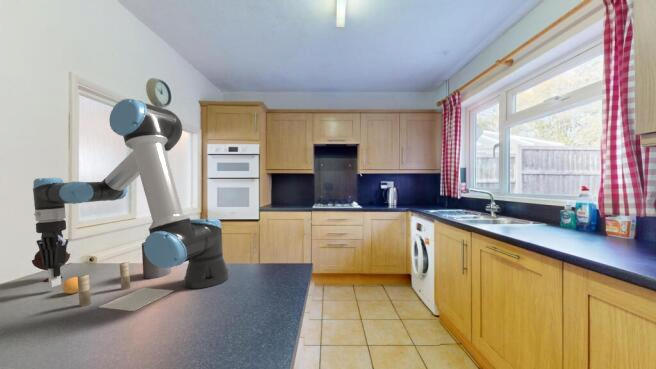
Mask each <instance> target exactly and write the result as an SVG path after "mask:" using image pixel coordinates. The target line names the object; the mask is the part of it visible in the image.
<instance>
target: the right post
mask: <svg viewBox="0 0 656 369" xmlns="http://www.w3.org/2000/svg"><path fill="white" fill-rule="evenodd" d="M119 273H120V288H121V289H122V290H123V291H124V290H128V289H129V290H130V289H131V275H130V263H129V262H127V261H125V262H122V263H120V264H119Z"/></svg>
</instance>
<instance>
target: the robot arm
mask: <svg viewBox="0 0 656 369" xmlns="http://www.w3.org/2000/svg"><path fill="white" fill-rule="evenodd" d="M109 114H110V115H109V119H108V120H109V127H110V129H111V130H112V131H113V133H115V134H116V135H118V136H122V137H123V141H124V144H125V146H126V147H128V148H129V149H131V152H130V153H129V154H128V155H126V157H125V158H124V159H123V160H122V161H121V162H120V163H119V164H117V166H116V167H115V168H114V169H113V170H112V171H111V172H110V173H109V174H108V175H107V176H106V177H105V178H104V179H102V181H69V182H68V181H67V182H64V180H63V179H62V178H61V177H41V178H35V179H34V180H33V186H32V191H33V192H32V193H33V202H34V213H33V215H34V216H35V221H36V223H35V232H36V233H37V234H40V235H41V237H40V239H38V240H36V241H35V242H36V245H37V246H38V249H39V250H38V251H40V255H41V260H42V264H43V266H46V268H48V270H47V275H48V276H47V278H48V279H49V282H48V287H49V288H54V287H56V286H59V285H62V278H61V276H62V274H61V268H62V266H64V265H66V263H65V259H66V251H67V248H68V244H69V239H67V238H64V234H63V231H65V230H66V229H67V220H65V219H66V218H67V216H66V205H68V204H72V205H75V204H76V205H77V204H82V203H83V204H84V203H93V202H94V203H95V202H106V201H116V200H122V199H124V198H125V197H127V193H128V187H130V185H131V184H132V183H133V182H134V181H135V180H136V179H137V178H138V177H140V180H141V183H142V184H141V185H142V187H143V193H145V194H144V195H145V198H146V202H147V205H148V209H149V213H150V216H151V217H150V218H151V221H152V222H151V224H150V226H149V228H148V233H149V235H148V236H147V237H146V238H145V240H144V242H146V243H144V242H143V243H144V252H145V255H146V257H147V258H148V260H149V261H150V262H151V263H152V264H154V265H156V266H157V267H160V268H171V269H172V268H173V267H177V266H180V265H183V264H184V263H186V262H187V263H188V264H187V268H186V273H185V276H184V278H183V284H184V287H185V288H188V289H202V288H203V289H204V288H208V287H209V288H210V287H213V286H217V285H219V284H221V283H224V282H225V281H227V280H228V279H229V278H230V270H229V268H228V267H227V265H226V264H227V263H226V261H225V259H224V253H223V252H224V251H223V236H222V235H223V234H222V232H223V231H222V230H223V228H222V222H221V220H220V219H218V218H202V219H198V218H197V219H191V218H190V217H189V216H187V215H185V214H184V213H183V208H182V205H181V202H180V198H179V194H178V191H177V188H176V184H175V180H174V176H173V173H172V168H171V167H170V166H171V165H170V163H169V158H168V155H167V152H170V151H171V150H172V149H173V148H174V147H175V146H176V145H177V144H178V143H179V141H180V140H181V138H182V134H183V124H182V121H181V120H180V118H179V117H178V115H176V113H174V112H173V111H171V110H168V109H167V108H164V107H163V108H162V107H159V106H155V105H152V104H149V103H146V102H144V101H143V100H137V99H132V98H124V99H121V100H120V101H119V102H117V103H115V105H113V108H112V110H111V111H110V113H109Z"/></svg>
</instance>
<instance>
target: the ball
mask: <svg viewBox="0 0 656 369" xmlns="http://www.w3.org/2000/svg"><path fill="white" fill-rule="evenodd" d="M78 277H79V276H74V277H73V276H72V277H69V278H68V279H66V280H65V281H64V282H63V284H62V291H63V292H64V293H66V294H69V295H71V294H76V293H79V291H78Z"/></svg>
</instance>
